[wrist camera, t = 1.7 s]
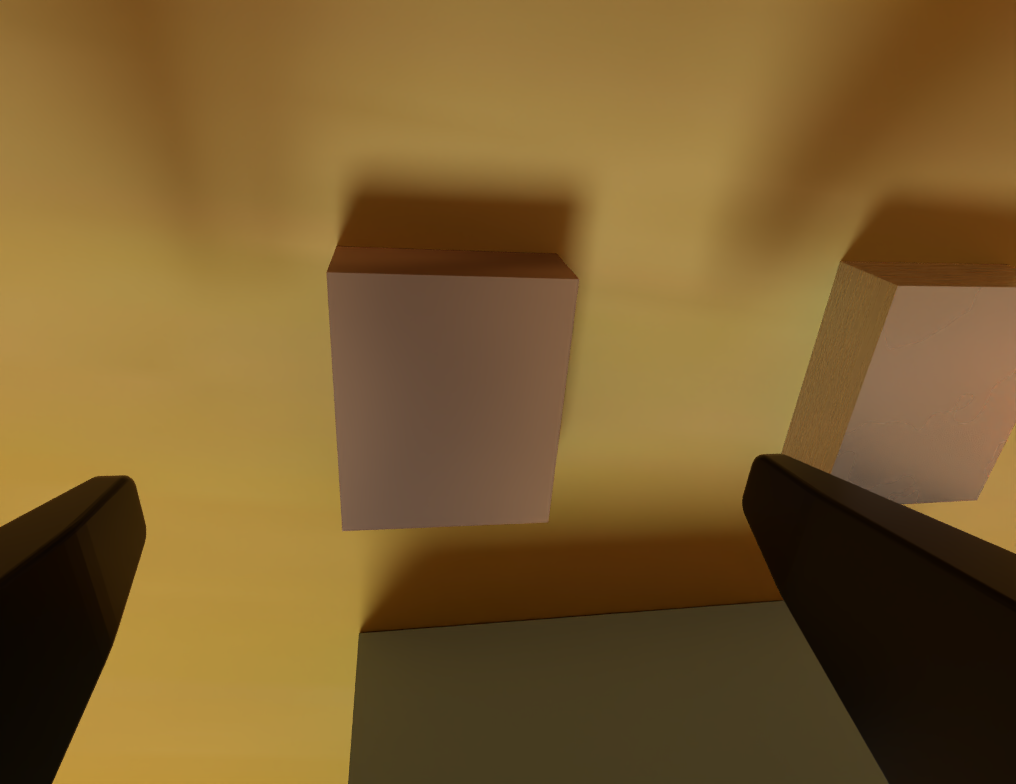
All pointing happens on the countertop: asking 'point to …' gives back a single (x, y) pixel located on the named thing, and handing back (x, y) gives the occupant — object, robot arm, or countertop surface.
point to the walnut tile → (448, 384)
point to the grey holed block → (604, 703)
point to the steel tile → (911, 379)
